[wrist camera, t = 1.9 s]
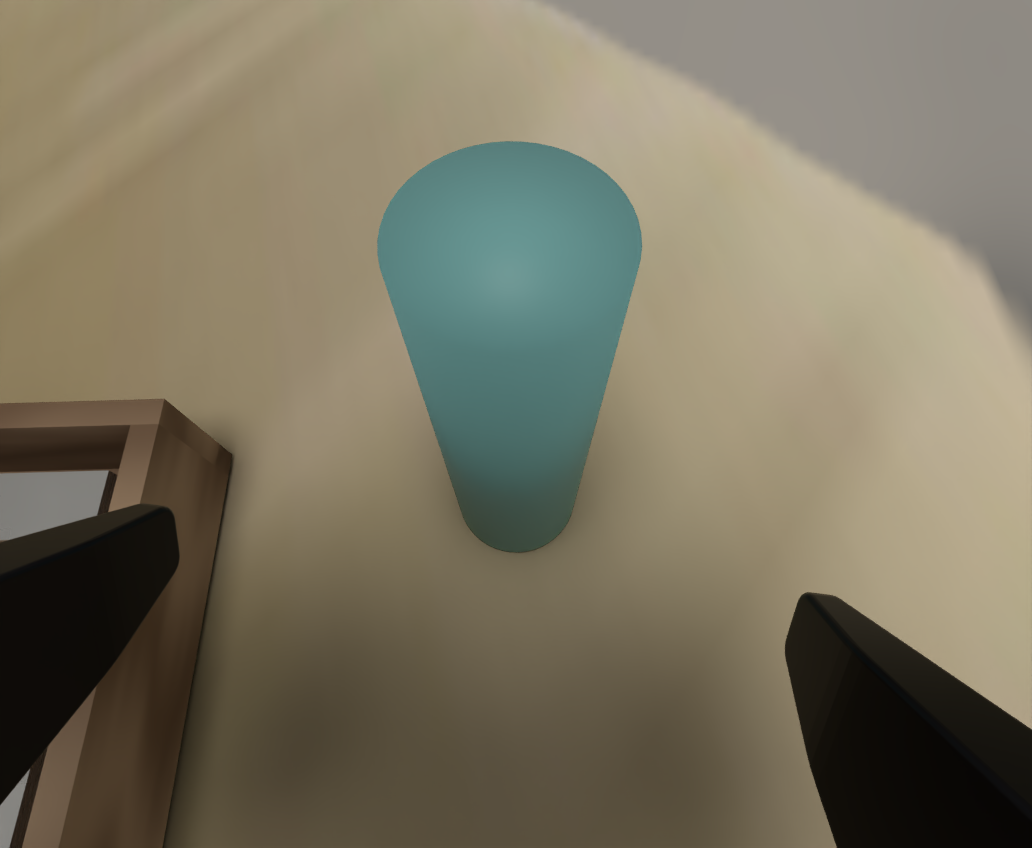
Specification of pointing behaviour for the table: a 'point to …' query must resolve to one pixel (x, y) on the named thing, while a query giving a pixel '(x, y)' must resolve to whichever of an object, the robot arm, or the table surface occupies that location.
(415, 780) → the table surface
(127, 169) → the table surface
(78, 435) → the tray
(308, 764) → the table surface
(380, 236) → the peg
